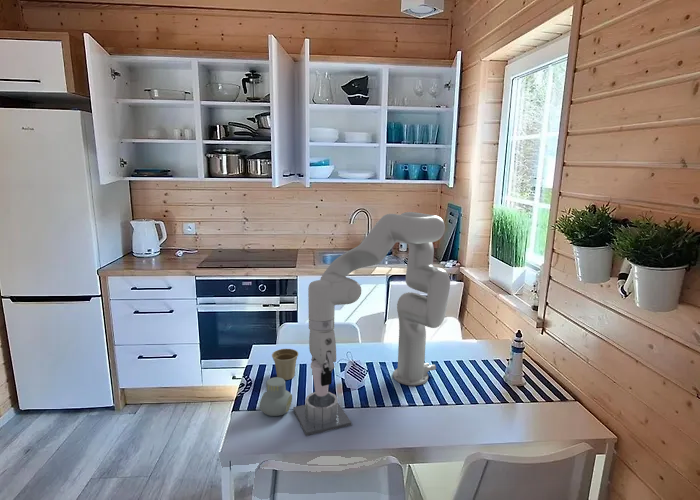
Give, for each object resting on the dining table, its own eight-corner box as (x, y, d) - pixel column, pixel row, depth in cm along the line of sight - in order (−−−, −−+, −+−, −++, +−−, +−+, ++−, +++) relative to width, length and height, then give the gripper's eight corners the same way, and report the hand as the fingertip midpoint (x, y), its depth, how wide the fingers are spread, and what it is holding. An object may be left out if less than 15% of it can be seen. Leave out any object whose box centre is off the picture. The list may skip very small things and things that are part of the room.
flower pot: (267, 379, 155) (266, 357, 154) (281, 368, 164) (280, 346, 162) (290, 385, 152) (290, 362, 150) (303, 372, 161) (303, 351, 159)
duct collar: (335, 401, 142) (335, 384, 141) (351, 425, 130) (351, 407, 128) (293, 410, 137) (293, 392, 136) (306, 436, 124) (305, 417, 123)
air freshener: (284, 422, 131) (283, 391, 129) (257, 419, 132) (256, 389, 130) (293, 402, 141) (293, 374, 139) (269, 400, 143) (268, 371, 140)
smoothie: (335, 389, 133) (335, 347, 131) (327, 400, 128) (327, 356, 125) (316, 385, 136) (315, 343, 133) (307, 396, 130) (306, 352, 127)
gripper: (346, 331, 121) (345, 390, 125) (321, 311, 136) (321, 364, 140) (321, 335, 118) (321, 396, 122) (298, 315, 133) (299, 369, 136)
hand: (321, 379), depth 131 cm, fingers closed on smoothie, 6 cm apart
